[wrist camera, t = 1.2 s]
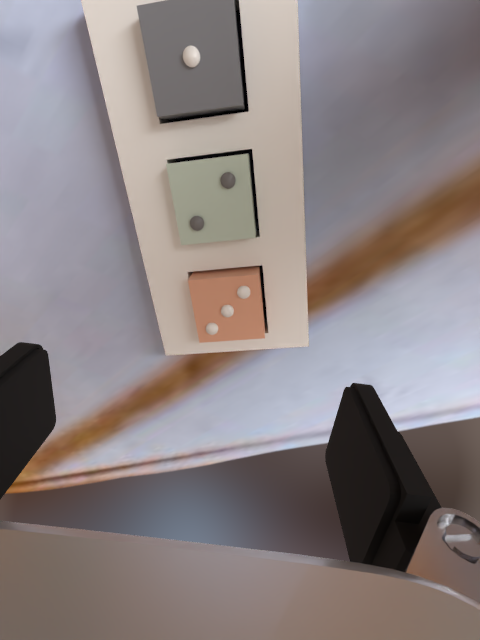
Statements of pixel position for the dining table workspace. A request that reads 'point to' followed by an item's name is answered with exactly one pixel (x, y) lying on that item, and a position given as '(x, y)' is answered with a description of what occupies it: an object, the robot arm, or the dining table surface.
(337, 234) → the dining table surface
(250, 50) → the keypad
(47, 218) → the dining table surface
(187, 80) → the tile one
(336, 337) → the dining table surface
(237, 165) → the tile two
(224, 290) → the tile three
